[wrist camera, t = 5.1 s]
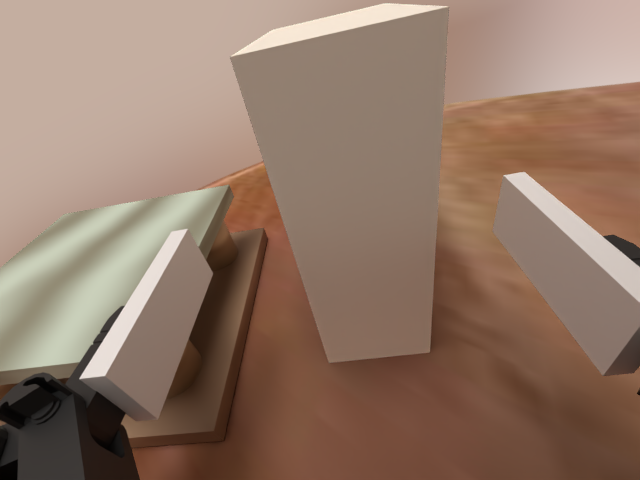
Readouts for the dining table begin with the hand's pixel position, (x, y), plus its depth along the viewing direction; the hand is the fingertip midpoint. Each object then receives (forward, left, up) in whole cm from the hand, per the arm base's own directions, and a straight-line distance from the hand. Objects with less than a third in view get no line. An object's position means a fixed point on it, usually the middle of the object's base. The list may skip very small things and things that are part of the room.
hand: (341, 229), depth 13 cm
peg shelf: (+15, -3, -8) cm, 17 cm away
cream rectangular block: (-1, -3, -8) cm, 8 cm away
